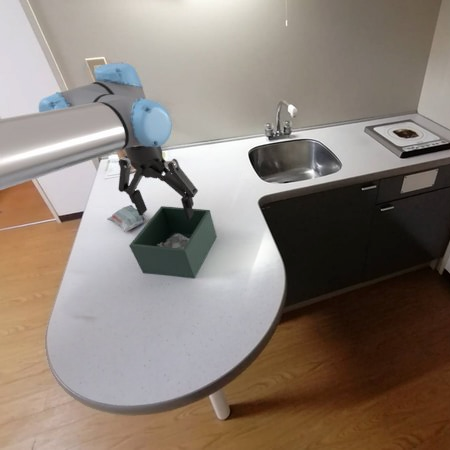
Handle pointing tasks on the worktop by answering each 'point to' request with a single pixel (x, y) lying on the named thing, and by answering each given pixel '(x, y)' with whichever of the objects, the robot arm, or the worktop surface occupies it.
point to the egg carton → (175, 242)
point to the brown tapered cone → (121, 154)
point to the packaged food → (127, 218)
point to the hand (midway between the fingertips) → (166, 214)
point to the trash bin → (174, 257)
